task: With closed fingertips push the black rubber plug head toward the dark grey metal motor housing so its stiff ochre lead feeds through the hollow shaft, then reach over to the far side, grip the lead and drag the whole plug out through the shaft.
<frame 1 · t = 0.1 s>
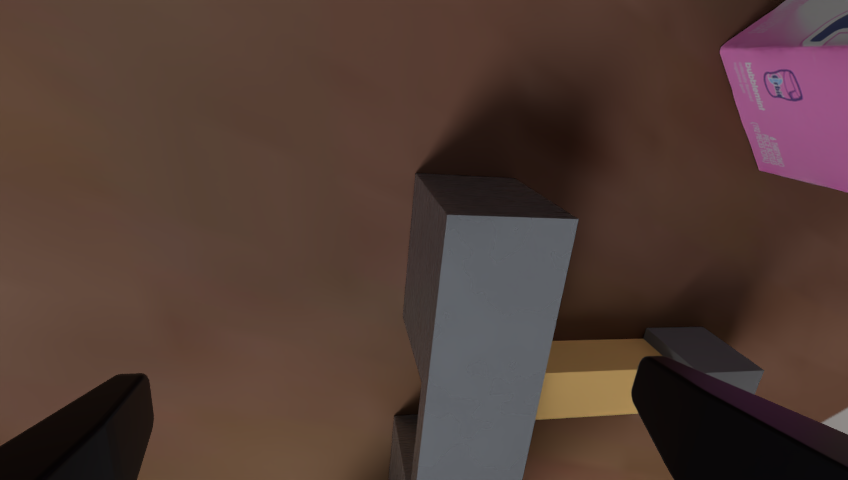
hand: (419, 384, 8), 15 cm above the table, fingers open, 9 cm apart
housing: (442, 366, 26), on the table
plug: (664, 358, 29), on the table
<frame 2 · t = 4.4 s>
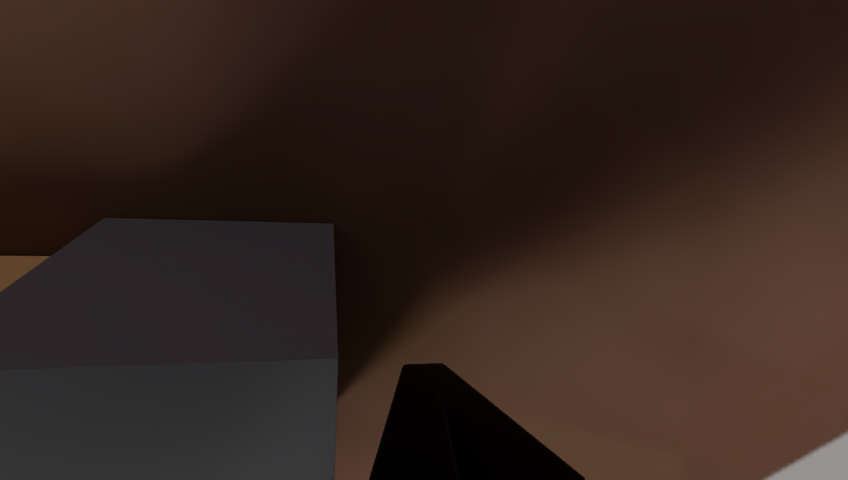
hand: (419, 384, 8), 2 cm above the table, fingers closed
plug: (230, 325, 10), on the table, touching gripper
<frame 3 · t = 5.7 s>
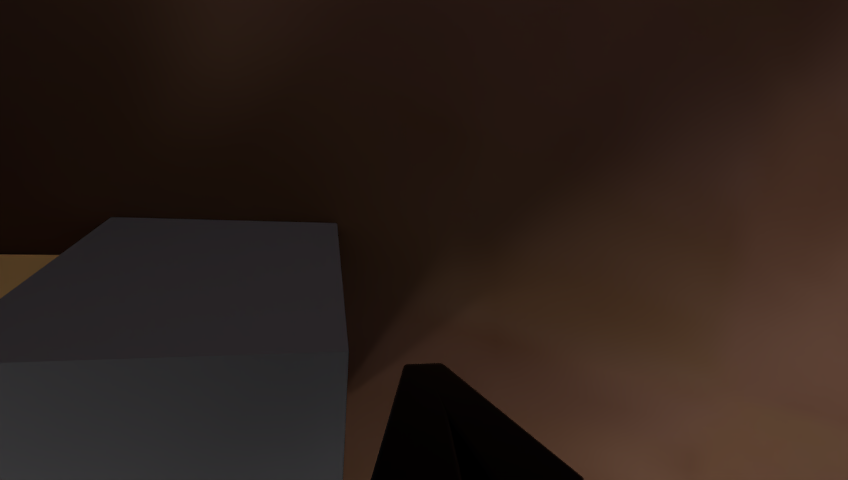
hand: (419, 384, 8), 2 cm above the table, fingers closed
plug: (234, 324, 10), on the table, touching gripper
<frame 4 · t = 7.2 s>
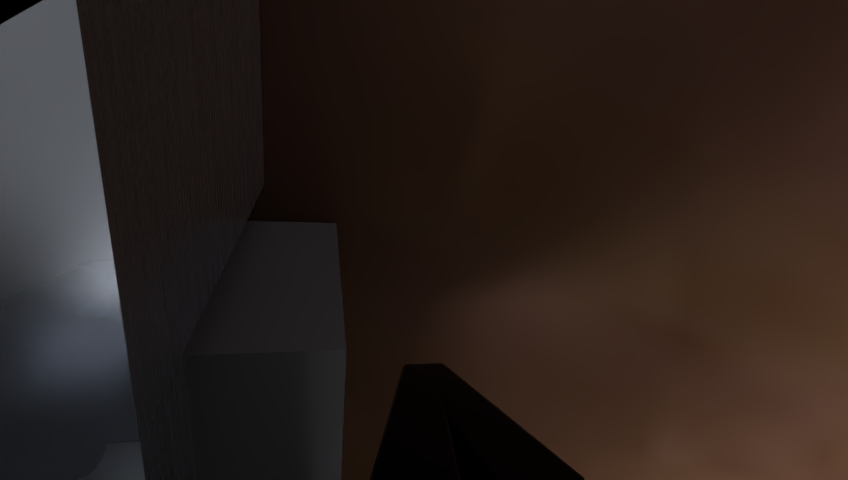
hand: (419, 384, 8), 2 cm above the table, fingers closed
housing: (136, 338, 9), on the table
plug: (234, 324, 10), on the table, touching gripper
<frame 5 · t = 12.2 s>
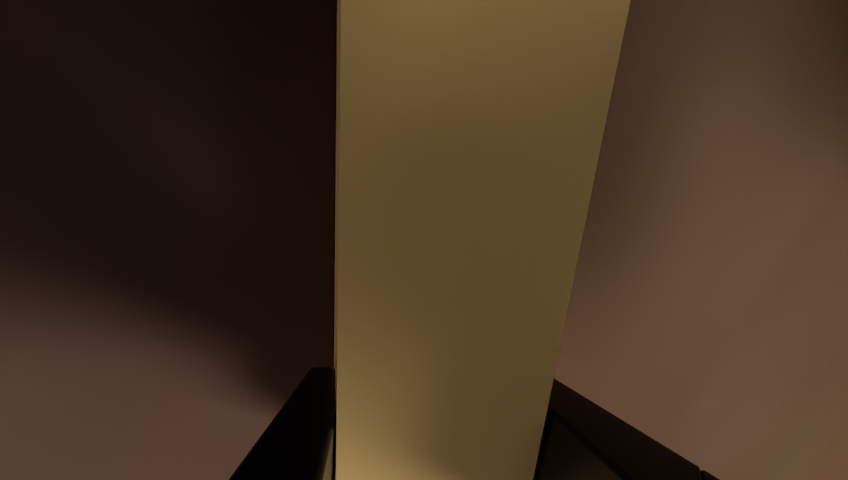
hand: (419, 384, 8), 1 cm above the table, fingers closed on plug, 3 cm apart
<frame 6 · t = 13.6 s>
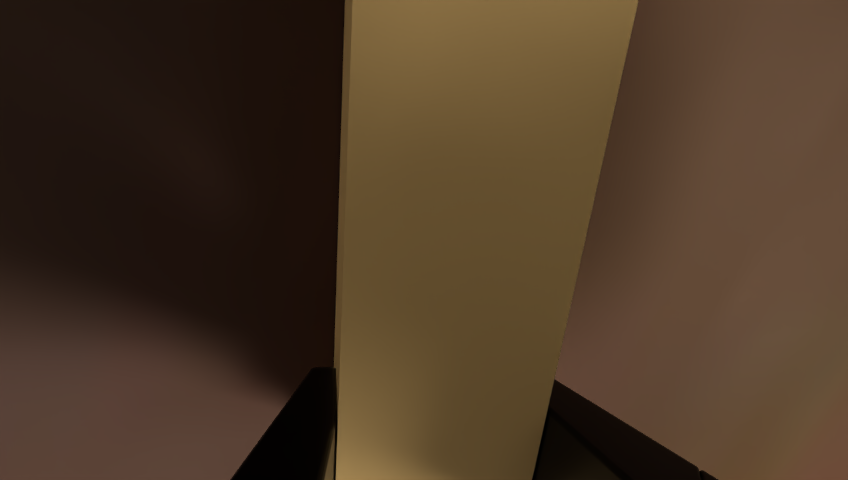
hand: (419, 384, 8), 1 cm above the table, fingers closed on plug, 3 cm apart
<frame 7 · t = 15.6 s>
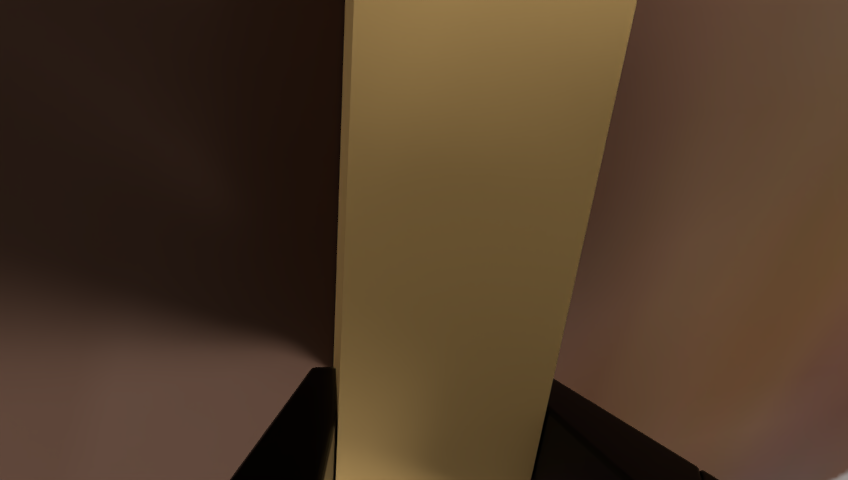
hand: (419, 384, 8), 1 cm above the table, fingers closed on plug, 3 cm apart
when the fingers open (1 cm above the table, at t = 16.3 s): plug stays where it is, on the table.
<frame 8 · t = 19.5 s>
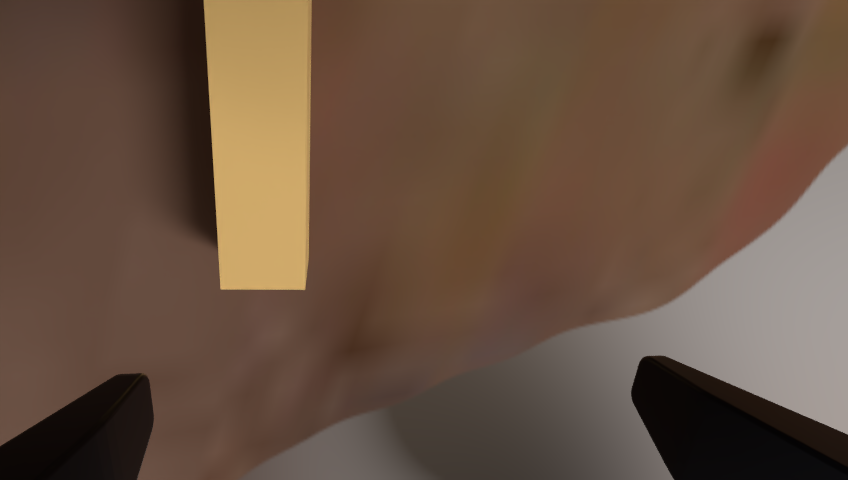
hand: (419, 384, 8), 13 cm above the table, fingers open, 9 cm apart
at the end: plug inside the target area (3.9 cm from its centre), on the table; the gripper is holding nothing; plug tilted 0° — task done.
